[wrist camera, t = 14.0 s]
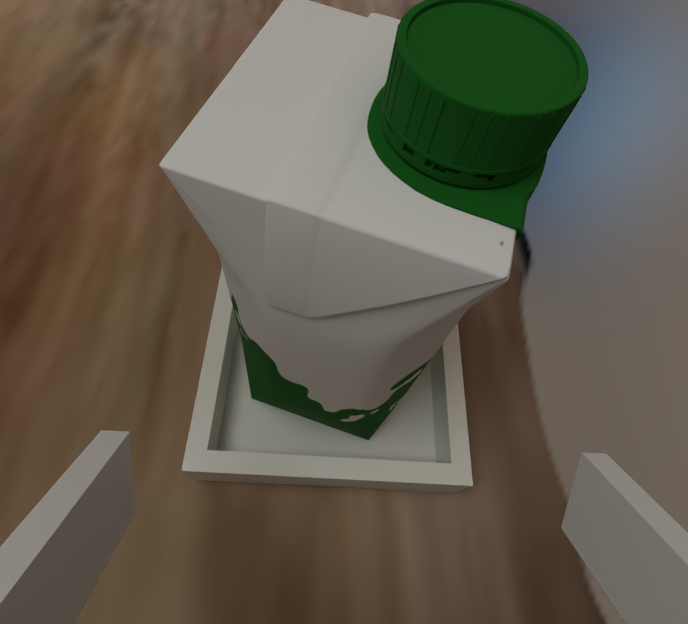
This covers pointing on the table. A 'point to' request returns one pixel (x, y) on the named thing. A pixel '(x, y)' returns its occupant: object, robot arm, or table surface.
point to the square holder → (325, 428)
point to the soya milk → (371, 187)
